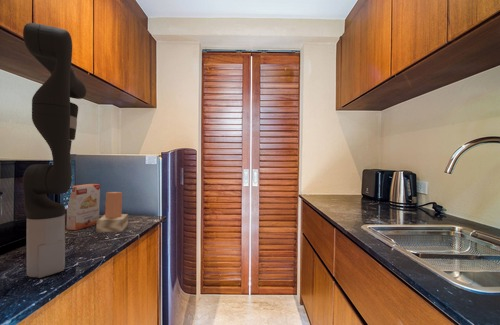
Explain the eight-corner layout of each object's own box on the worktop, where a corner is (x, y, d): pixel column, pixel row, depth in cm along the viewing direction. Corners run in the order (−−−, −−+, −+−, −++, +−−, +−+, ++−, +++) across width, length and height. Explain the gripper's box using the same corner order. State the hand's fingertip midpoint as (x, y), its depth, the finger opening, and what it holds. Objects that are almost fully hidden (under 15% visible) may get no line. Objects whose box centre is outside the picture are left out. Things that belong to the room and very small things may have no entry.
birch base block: (127, 225, 127) (128, 213, 126) (122, 231, 116) (122, 219, 116) (104, 226, 124) (104, 214, 124) (96, 233, 113) (96, 220, 113)
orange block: (121, 216, 121) (122, 192, 121) (112, 218, 117) (114, 193, 117) (113, 215, 123) (114, 191, 123) (104, 217, 118) (106, 192, 118)
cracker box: (76, 231, 114) (76, 186, 114) (65, 230, 116) (66, 186, 115) (100, 223, 128) (100, 183, 128) (90, 222, 129) (90, 183, 129)
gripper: (49, 127, 102) (43, 165, 100) (58, 122, 93) (52, 164, 91) (70, 131, 107) (65, 167, 106) (81, 127, 98) (75, 167, 97)
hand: (59, 166), depth 98 cm, fingers open, 8 cm apart
